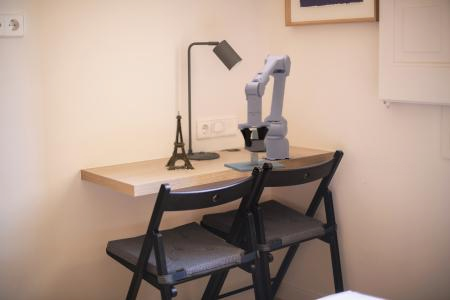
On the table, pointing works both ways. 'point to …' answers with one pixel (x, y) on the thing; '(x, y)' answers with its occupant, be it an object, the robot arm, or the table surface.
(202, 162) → the table surface
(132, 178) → the table surface
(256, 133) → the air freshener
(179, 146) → the eiffel tower
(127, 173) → the table surface
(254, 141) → the dark grey square block
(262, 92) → the robot arm
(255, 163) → the piston stand
